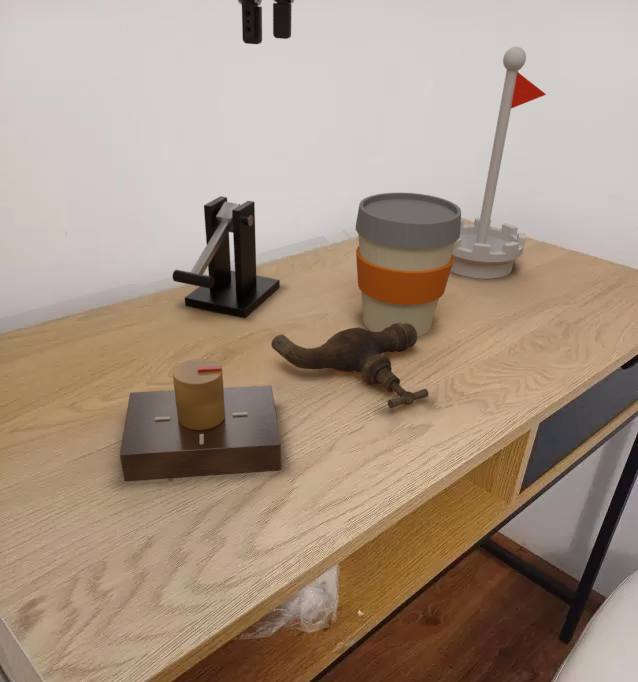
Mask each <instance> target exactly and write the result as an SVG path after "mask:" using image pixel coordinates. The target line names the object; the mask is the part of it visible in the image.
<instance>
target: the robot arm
mask: <svg viewBox="0 0 638 682" xmlns="http://www.w3.org/2000/svg"><path fill="white" fill-rule="evenodd" d="M262 1H263V0H237V3H238V4H239V5H241V30H242V32H241V33H242V42H243V43H244V44H248V45H260V44H262V42H263V7H262V6H261V5H262ZM294 2H295V0H273V3H272V34H273V37H274V38H275V39H280V40H281V39H282V40H283V39H284V40H288V39H290V38H291V37H292V4H293V3H294Z"/></svg>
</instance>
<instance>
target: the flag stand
mask: <svg viewBox="0 0 638 682" xmlns="http://www.w3.org/2000/svg"><path fill="white" fill-rule="evenodd" d="M526 61H527V54H526V52H525V50H524V48H522V47H520V46H512V47H510V48H508V49H507V50H506V51H505V53H504V55H503V58H502V64H503V67H504V68H505V70H506V72H505V77H504V83H503V88H502V94H501V100H500V105H499V112H498V115H497V116H498V117H497V122H496V127H495V132H494V140H493V145H492V149H491V156H490V161H489V167H488V171H487V177H486V185H485V188H484V195H483V200H482V206H481V212H480V216H479V217H477V218H476V217H475V218H474V222H473V224H464V223H465V222H464V220H463V219H462V218H461V226H460V237H459V239H458V240H457V241H456V242H455V245H454V249H453V252H452V254H453V257H454V261H453V264H452V268H451V271H450V273H454V274H456V275H459V276H461V277H462V276H463V277H467V278H473V279H483V280H487V279H488V280H489V279H498V278H503V277H506V276H508V275H510V274H511V273H512V271H513V267H514V261H515V260H516V259H518V258H520V257H521V256H522V255H523V254H524V249H525V244H526V240H527V235H526V233H523V232H518V230H519V227H518V226H515V225H512V224H510V223H506V222H505V223H503V224H502V225H501V228H497V227H493V226H491V222H492V219H491V217H492V212H493V206H494V203H495V197H496V190H497V186H498V181H499V175H500V170H501V165H502V159H503V154H504V149H505V148H504V147H505V142H506V138H507V132H508V128H509V121H510V118H511V112H512V109H514V108H516V107H519V106H521V105H524V104H526V103H529V102H531V101H534V100H536V99H539V98H542V97H544V96H547V93H545V91H542V89H540V88H539V87H537V85H535V84H534V83H532V82H531V81H530V80H529V79H527V78H526V77H525V76H523V75H522V74H521V72H519V71H520V70H521V69H522V68H523V67H524V66H525V63H526Z"/></svg>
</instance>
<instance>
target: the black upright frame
mask: <svg viewBox="0 0 638 682" xmlns="http://www.w3.org/2000/svg"><path fill="white" fill-rule="evenodd" d="M224 202H228V197H227V196H221V195H220V196H218V197H217V198H215V199H213V200H211V201H209V202H207V203H206V204H204V205H203V213H204V226H205V241H206V245H207V244H208V242H209V241H210V239H211V237H212V236H213V234H214V232H215V231H216V229H217V228H218V226H219V224H218V221H217V218H216V215H217V214H218V212H219V210H220V209H221V207H222V206H223V204H224ZM255 205H256V203H255V201H253V200H247V201H245V202H243V203H241V204H240V206H238V207H236V208H235V209H233V210H232V218H233V233H232V236H233V258H234V261H233V262H234V270H232V268H231V267H232V266H231V249H230V247H231V246H230V232H228V233H227V235H226V236H225V238H224V240H223V241H222V243H221V245H220V246H219V248H218V250H217V252H216V253H215V255H214V257H213V258H212V260H211V262H210V263H209V265H208V267H207V270H208V276H211V277H213V278H214V285H213V287H212V288H211V289H210V288H205V287H200V286H198V287H197V288H196V289H194V290H193V291H192V292H190V293H189V294H187V295H186V296H185V297H184V306H186V307H191V308H194V309H199V310H204V311H209V312H213V313H219V314H224V315H227V316H232V317H236V318H241V319H246V318H247V317H248V316H249V315H251V313H253V312H254V311H255V310H256V309H257V308H258V307H260V305H262V304H263V303H264V302H265V301H266V300H267V299H268V298H270V297H271V295H273V294H274V293H275V292H276V291H278V290H279V288H280V279H277V278H271V277H267V276H261V275H257V249H256V248H257V247H256V246H257V245H256V244H257V243H256V208H255Z"/></svg>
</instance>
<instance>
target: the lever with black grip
mask: <svg viewBox="0 0 638 682" xmlns="http://www.w3.org/2000/svg"><path fill="white" fill-rule="evenodd" d="M240 205H241V204H240V203H237V202H236V203H235V202H229V201H227V202H224V204H223V206H222V207H221V209H220V210H219V212H218V214H217V215H216V218H217V221H218V224H219V226H218V228H217V229H216V231H215V232H214V234H213V236H212V237H211V239H210V241H209V242H208V244H207V243H206V246H205V247H204V249H203V250H202V252H201V254H200V256H199V257H198V259H197V260H196V262H195V264H194V265H193V267H192V268H191V270H190V271H185V270H181V269H175V270H174V271H173V273H172V280H173V282H175V283H181V284H186V285H190V286H196V287H205V288H210V289H211V288H212V287H213V285H214V278H213V277H211V276H209V275H206V274H204V273H205V272H206V271H207V269H208V265H209V263H210V262H211V260H212V258H213V257H214V255H215V253H216V252H217V250H218V248H219V246H220V245H221V243H222V241H223V240H224V238H225V236H226V235H227V233H228V232H229V233H231V234H233V218H232V210H233V209H235V208H236V207H238V206H240Z"/></svg>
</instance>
